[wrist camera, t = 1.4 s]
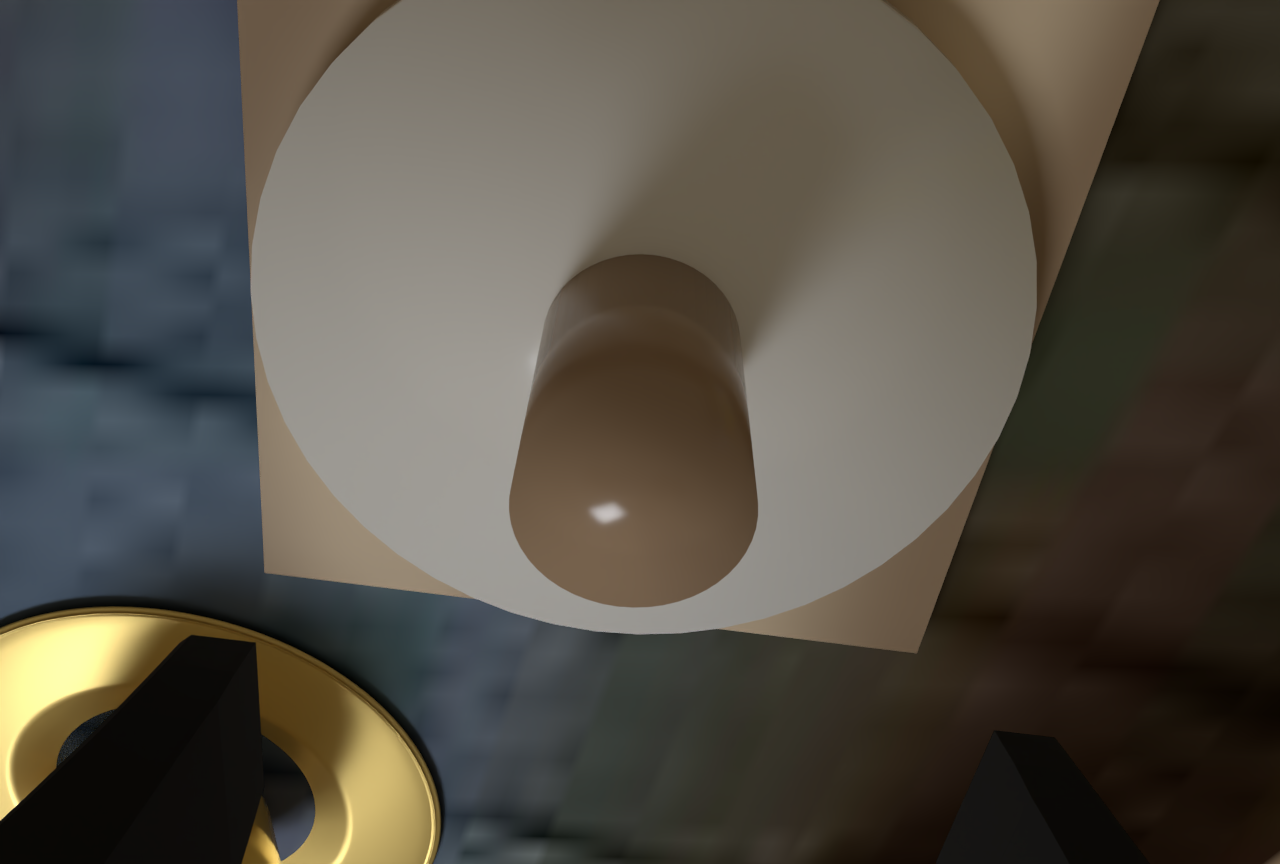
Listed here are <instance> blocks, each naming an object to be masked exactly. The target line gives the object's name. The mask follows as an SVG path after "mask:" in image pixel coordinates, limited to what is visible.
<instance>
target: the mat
mask: <svg viewBox="0 0 1280 864" xmlns="http://www.w3.org/2000/svg"><path fill="white" fill-rule="evenodd" d="M396 1H397V0H237V6H238V27H239V48H240V69H241V89H242V110H243V131H244V152H245V173H246V194H247V215H248V236H249V257H250V278H251V261H252V242H253V237H254V231H255V226H256V220H257V214H258V209H259V203H260V198H261V195H262V192H263V189H264V186H265V183H266V180H267V177H268V174H269V171H270V169H271V166H272V163H273V160H274V157H275V154H276V151H277V149H278V147H279V145H280V143H281V142H282V140H283V138H284V136H285V134H286V132H287V130H288V128H289V126H290V124H291V122H292V121H293V119H294V117H295V115H296V113H297V111H298V109H299V107H300V105H301V104H302V103H303V101H304V100H305V99H306V97H307V96H308V95H309V93H310V92H311V91H312V89H313V88H314V86H315V85H316V84H317V82H318V81H319V80H320V78H321V77H322V76H323V74H324V73H325V72H326V70H327V69H328V67H329V66H330V65H331V63H332V62H333V61H334V60H335V59H336V58H337V57H338V56H339V55H340V54H341V53H342V52H343V50H344V49H345V48H346V47H347V46H348V45H349V44H350V43H351V42H352V41H353V40H354V39H355V38H356V37H357V36H358V35H359V34H360V33H361V32H362V31H363V30H364V29H365V28H366V27H367V26H368V25H369V24H370V23H371V22H372V21H373V20H374V19H375V18H376V17H377V16H378V15H379V14H380V13H381V12H383V11H384V10H385V9H387V8H388V7H389V6H391V5H392V4H393V3H395V2H396ZM886 1H888V2H889V3H890V4H892V5H893V6H894V7H895V8H897V9H898V10H899V11H901V12H902V13H903V14H904V15H906V16H907V17H908V18H910V19H911V20H912V21H913V22H914V23H915V24H916V25H917V26H918V27H919V28H920V29H921V30H922V32H923V33H924V34H925V35H926V36H927V37H928V38H929V39H930V40H931V41H932V42H933V43H934V44H935V45H936V46H937V47H938V48H939V49H940V50H941V51H942V53H943V54H944V55H945V56H946V57H947V58H948V59H949V60H950V61H951V63H952V64H953V65H954V67H955V68H956V69H957V70H958V72H959V73H960V74H961V76H962V77H963V79H964V80H965V82H966V83H967V84H968V86H969V87H970V89H971V90H972V92H973V93H974V94H975V96H976V97H977V99H978V100H979V102H980V103H981V104H982V106H983V107H984V109H985V110H986V112H987V113H988V114H989V116H990V117H991V119H992V121H993V123H994V125H995V127H996V129H997V131H998V133H999V135H1000V137H1001V139H1002V141H1003V143H1004V145H1005V147H1006V149H1007V151H1008V153H1009V155H1010V157H1011V159H1012V161H1013V163H1014V166H1015V169H1016V172H1017V175H1018V179H1019V182H1020V185H1021V188H1022V191H1023V194H1024V198H1025V201H1026V204H1027V207H1028V210H1029V215H1030V221H1031V228H1032V234H1033V241H1034V247H1035V253H1036V260H1037V309H1036V316H1035V323H1034V330H1033V337H1032V342H1033V339H1034V337H1035V334H1036V331H1037V329H1038V326H1039V323H1040V321H1041V318H1042V315H1043V313H1044V310H1045V307H1046V304H1047V302H1048V299H1049V296H1050V294H1051V291H1052V288H1053V286H1054V283H1055V280H1056V278H1057V275H1058V272H1059V270H1060V267H1061V264H1062V261H1063V259H1064V256H1065V253H1066V251H1067V248H1068V245H1069V243H1070V240H1071V237H1072V235H1073V232H1074V229H1075V227H1076V224H1077V221H1078V218H1079V216H1080V213H1081V210H1082V208H1083V205H1084V202H1085V200H1086V197H1087V194H1088V192H1089V189H1090V186H1091V183H1092V181H1093V178H1094V175H1095V173H1096V170H1097V167H1098V165H1099V162H1100V159H1101V157H1102V154H1103V151H1104V149H1105V146H1106V143H1107V140H1108V138H1109V135H1110V132H1111V130H1112V127H1113V124H1114V122H1115V119H1116V116H1117V114H1118V111H1119V108H1120V105H1121V103H1122V100H1123V97H1124V95H1125V92H1126V89H1127V87H1128V84H1129V81H1130V79H1131V76H1132V73H1133V71H1134V68H1135V65H1136V62H1137V60H1138V57H1139V54H1140V52H1141V49H1142V46H1143V44H1144V41H1145V38H1146V36H1147V33H1148V30H1149V28H1150V25H1151V22H1152V19H1153V17H1154V14H1155V11H1156V9H1157V6H1158V3H1159V1H1160V0H886ZM252 320H253V341H254V362H255V382H256V403H257V424H258V445H259V466H260V487H261V508H262V529H263V550H264V571H265V573H270V574H278V575H286V576H294V577H303V578H311V579H319V580H327V581H335V582H343V583H351V584H359V585H367V586H375V587H384V588H392V589H400V590H408V591H416V592H424V593H432V594H440V595H448V596H456V597H465V598H473V597H470V596H468V595H466V594H465V593H463V592H461V591H459V590H457V589H455V588H453V587H451V586H449V585H447V584H445V583H443V582H441V581H439V580H437V579H435V578H433V577H432V576H430V575H429V574H427V573H426V572H424V571H422V570H421V569H419V568H418V567H416V566H415V565H413V564H412V563H410V562H409V561H407V560H406V559H404V558H403V557H401V556H399V555H398V554H397V553H395V552H394V551H393V550H392V549H390V548H389V547H388V546H387V545H386V544H384V543H383V542H382V541H381V540H379V539H378V538H377V537H376V536H375V535H373V534H372V533H371V532H370V531H369V530H367V529H366V528H365V527H364V526H363V525H362V524H361V523H360V522H359V521H358V520H357V519H356V518H355V517H354V516H353V515H352V514H351V513H350V512H349V511H348V510H347V509H346V508H345V507H344V506H343V505H342V504H341V503H340V502H339V501H338V500H337V498H336V497H335V496H334V495H333V494H332V493H331V491H330V490H329V489H328V488H327V486H326V485H325V484H324V482H323V481H322V480H321V478H320V477H319V476H318V474H317V473H316V472H315V470H314V469H313V468H312V467H311V465H310V464H309V463H308V461H307V460H306V458H305V456H304V455H303V453H302V451H301V449H300V448H299V446H298V444H297V443H296V441H295V439H294V437H293V436H292V434H291V432H290V430H289V429H288V427H287V425H286V424H285V422H284V419H283V417H282V414H281V412H280V410H279V407H278V405H277V402H276V400H275V398H274V395H273V393H272V391H271V388H270V386H269V383H268V381H267V377H266V373H265V369H264V366H263V362H262V358H261V354H260V351H259V347H258V343H257V339H256V333H255V324H254V316H253V308H252ZM1031 345H1032V343H1031ZM993 447H994V446H993ZM993 447H992V449H991V451H990V452H989V454H988V455H987V457H986V459H985V460H984V462H983V463H982V465H981V467H980V468H979V470H978V471H977V473H976V475H975V476H974V477H973V478H972V480H971V481H970V482H969V483H968V484H967V486H966V487H965V488H964V489H963V491H962V492H961V493H960V494H959V495H958V497H957V498H956V499H955V500H954V502H953V503H952V504H951V505H950V506H949V508H948V509H947V510H946V511H945V512H944V513H943V514H942V515H941V516H940V517H939V518H937V519H936V520H935V521H934V522H933V523H932V524H931V525H930V526H929V527H928V528H927V529H926V530H925V531H924V532H923V533H922V534H921V535H920V536H919V537H918V538H917V539H915V540H914V541H913V542H911V543H910V544H909V545H907V546H906V547H905V548H903V549H902V550H901V551H899V552H898V553H897V554H895V555H894V556H893V557H892V558H890V559H889V560H888V561H886V562H885V563H884V564H882V565H881V566H879V567H877V568H876V569H874V570H872V571H871V572H869V573H867V574H866V575H864V576H862V577H861V578H859V579H857V580H855V581H854V582H852V583H850V584H849V585H847V586H845V587H843V588H841V589H839V590H837V591H835V592H832V593H830V594H828V595H826V596H824V597H821V598H819V599H817V600H815V601H813V602H811V603H808V604H806V605H803V606H800V607H797V608H794V609H792V610H789V611H786V612H783V613H780V614H777V615H774V616H771V617H768V618H765V619H760V620H756V621H751V622H747V623H743V624H738V625H734V626H729V627H725V628H718V629H724V630H732V631H740V632H748V633H756V634H764V635H772V636H780V637H789V638H797V639H805V640H813V641H821V642H829V643H837V644H845V645H853V646H861V647H870V648H878V649H886V650H894V651H902V652H910V653H917V651H918V649H919V646H920V643H921V641H922V638H923V635H924V633H925V630H926V627H927V625H928V622H929V619H930V616H931V614H932V611H933V608H934V606H935V603H936V600H937V598H938V595H939V592H940V590H941V587H942V584H943V581H944V579H945V576H946V573H947V571H948V568H949V565H950V563H951V560H952V557H953V555H954V552H955V549H956V547H957V544H958V541H959V538H960V536H961V533H962V530H963V528H964V525H965V522H966V520H967V517H968V514H969V512H970V509H971V506H972V503H973V501H974V498H975V495H976V493H977V490H978V487H979V485H980V482H981V479H982V477H983V474H984V471H985V469H986V466H987V463H988V460H989V458H990V455H991V452H992V450H993ZM473 599H475V598H473Z"/></svg>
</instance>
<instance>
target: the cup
mask: <svg viewBox="0 0 1280 864" xmlns="http://www.w3.org/2000/svg"><path fill="white" fill-rule="evenodd" d="M190 635H198V636H206V637H215V638H223V639H231V640H240V641H248V642H256V653H257V670H258V688H259V705H260V723H261V734H262V735H263V736H265V737H266V738H268V739H269V740H271V741H272V742H273V743H275V744H276V745H277V746H278V747H280V748H281V749H282V750H283V751H284V752H285V753H286V754H287V755H288V756H289V757H290V758H291V759H292V760H293V761H294V762H295V763H296V764H297V766H298V767H299V768H300V769H301V771H302V772H303V774H304V775H305V777H306V779H307V781H308V783H309V785H310V787H311V790H312V793H313V796H314V800H315V820H314V825H313V828H312V830H311V833H310V835H309V836H308V838H307V840H306V841H305V842H304V844H303V845H302V846H301V847H300V848H299V849H298V850H297V851H296V852H295V853H293V854H292V855H291V856H289V857H288V858H286V859H285V860H283V861H280V856H279V851H278V847H277V842H276V838H275V834H274V830H273V826H272V821H271V817H270V814H269V810H268V807H267V804H266V802H265V800H264V798H263V796H261V799H260V803H259V806H258V810H257V813H256V817H255V820H254V823H253V827H252V830H251V834H250V837H249V841H248V844H247V847H246V851H245V854H244V857H243V860H242V864H433V862H434V859H435V856H436V853H437V850H438V846H439V841H440V834H441V810H440V803H439V798H438V794H437V790H436V787H435V784H434V781H433V778H432V776H431V773H430V771H429V769H428V767H427V765H426V763H425V761H424V759H423V757H422V755H421V754H420V752H419V750H418V749H417V747H416V746H415V744H414V743H413V741H412V740H411V738H410V737H409V736H408V734H407V733H406V732H405V731H404V729H403V728H402V727H401V726H400V725H399V723H398V722H397V721H396V720H395V719H394V718H393V717H392V716H391V715H390V714H389V713H388V712H387V711H386V710H385V709H384V708H383V707H382V706H381V705H380V704H379V703H378V702H377V701H376V700H375V699H373V698H372V697H371V696H370V695H369V694H368V693H366V692H365V691H364V690H363V689H361V688H360V687H359V686H357V685H356V684H355V683H353V682H352V681H351V680H349V679H348V678H346V677H345V676H343V675H342V674H340V673H339V672H337V671H336V670H334V669H333V668H331V667H329V666H328V665H326V664H325V663H323V662H321V661H319V660H318V659H316V658H314V657H312V656H310V655H308V654H306V653H304V652H303V651H301V650H298V649H296V648H294V647H292V646H290V645H288V644H286V643H283V642H281V641H279V640H276V639H274V638H272V637H269V636H267V635H264V634H261V633H259V632H256V631H253V630H250V629H247V628H244V627H241V626H238V625H235V624H231V623H228V622H224V621H220V620H216V619H212V618H208V617H204V616H199V615H194V614H189V613H184V612H178V611H171V610H163V609H155V608H143V607H121V606H109V607H87V608H76V609H68V610H62V611H56V612H50V613H45V614H41V615H37V616H33V617H29V618H26V619H23V620H19V621H16V622H14V623H11V624H8V625H6V626H3V627H1V628H0V820H1V819H3V818H4V817H5V816H6V815H7V814H8V813H9V812H10V811H11V810H12V809H13V808H15V807H16V806H17V805H18V804H19V803H20V802H21V801H22V800H23V799H24V798H25V797H26V796H27V795H28V794H29V793H30V792H31V791H33V790H34V789H35V788H36V787H37V786H38V785H39V784H40V783H41V782H42V781H43V780H44V779H45V778H46V777H47V776H48V775H49V774H50V773H51V772H53V771H54V770H55V769H56V764H57V758H58V754H59V751H60V749H61V747H62V745H63V743H64V741H65V740H66V738H67V737H68V736H69V735H70V734H71V733H72V732H73V731H74V730H75V729H76V728H77V727H78V726H79V725H81V724H82V723H84V722H85V721H87V720H89V719H90V718H92V717H94V716H96V715H99V714H101V713H104V712H107V711H110V710H113V709H117V708H118V707H119V706H120V705H121V704H122V703H123V702H124V701H125V700H126V699H127V698H128V696H129V695H130V694H131V693H132V692H133V691H134V690H135V689H136V688H137V687H138V686H139V685H140V684H141V683H142V682H143V681H144V680H145V679H146V678H147V677H148V676H149V675H150V674H151V673H152V671H153V670H154V669H155V668H156V667H157V666H158V665H159V664H160V663H161V662H162V661H163V660H164V659H165V658H166V657H167V656H168V655H169V653H170V652H171V651H172V650H173V649H174V648H175V647H176V646H177V645H178V644H179V643H180V642H181V641H183V640H184V639H186V638H187V637H189V636H190Z"/></svg>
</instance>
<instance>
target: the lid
mask: <svg viewBox="0 0 1280 864" xmlns="http://www.w3.org/2000/svg"><path fill="white" fill-rule="evenodd" d="M251 299H252V308H253V316H254V324H255V333H256V339H257V343H258V347H259V351H260V354H261V358H262V362H263V366H264V369H265V373H266V377H267V381H268V383H269V386H270V388H271V391H272V393H273V395H274V398H275V400H276V402H277V405H278V407H279V410H280V412H281V414H282V417H283V419H284V422H285V424H286V425H287V427H288V429H289V430H290V432H291V434H292V436H293V437H294V439H295V441H296V443H297V444H298V446H299V448H300V449H301V451H302V453H303V455H304V456H305V458H306V460H307V461H308V463H309V464H310V465H311V467H312V468H313V469H314V470H315V472H316V473H317V474H318V476H319V477H320V478H321V480H322V481H323V482H324V484H325V485H326V486H327V488H328V489H329V490H330V491H331V493H332V494H333V495H334V496H335V497H336V498H337V500H338V501H339V502H340V503H341V504H342V505H343V506H344V507H345V508H346V509H347V510H348V511H349V512H350V513H351V514H352V515H353V516H354V517H355V518H356V519H357V520H358V521H359V522H360V523H361V524H362V525H363V526H364V527H365V528H366V529H367V530H369V531H370V532H371V533H372V534H373V535H375V536H376V537H377V538H378V539H379V540H381V541H382V542H383V543H384V544H386V545H387V546H388V547H389V548H390V549H392V550H393V551H394V552H395V553H397V554H398V555H399V556H401V557H403V558H404V559H406V560H407V561H409V562H410V563H412V564H413V565H415V566H416V567H418V568H419V569H421V570H422V571H424V572H426V573H427V574H429V575H430V576H432V577H433V578H435V579H437V580H439V581H441V582H443V583H445V584H447V585H449V586H451V587H453V588H455V589H457V590H459V591H461V592H463V593H465V594H466V595H468V596H470V597H473V598H475V599H478V600H480V601H483V602H486V603H488V604H491V605H493V606H496V607H498V608H501V609H504V610H506V611H509V612H511V613H515V614H519V615H522V616H526V617H529V618H533V619H537V620H540V621H544V622H548V623H551V624H556V625H562V626H568V627H574V628H579V629H585V630H591V631H599V632H613V633H627V634H669V633H686V632H694V631H702V630H710V629H718V628H725V627H729V626H734V625H738V624H743V623H747V622H751V621H756V620H760V619H765V618H768V617H771V616H774V615H777V614H780V613H783V612H786V611H789V610H792V609H794V608H797V607H800V606H803V605H806V604H808V603H811V602H813V601H815V600H817V599H819V598H821V597H824V596H826V595H828V594H830V593H832V592H835V591H837V590H839V589H841V588H843V587H845V586H847V585H849V584H850V583H852V582H854V581H855V580H857V579H859V578H861V577H862V576H864V575H866V574H867V573H869V572H871V571H872V570H874V569H876V568H877V567H879V566H881V565H882V564H884V563H885V562H886V561H888V560H889V559H890V558H892V557H893V556H894V555H895V554H897V553H898V552H899V551H901V550H902V549H903V548H905V547H906V546H907V545H909V544H910V543H911V542H913V541H914V540H915V539H917V538H918V537H919V536H920V535H921V534H922V533H923V532H924V531H925V530H926V529H927V528H928V527H929V526H930V525H931V524H932V523H933V522H934V521H935V520H936V519H937V518H939V517H940V516H941V515H942V514H943V513H944V512H945V511H946V510H947V509H948V508H949V506H950V505H951V504H952V503H953V502H954V500H955V499H956V498H957V497H958V495H959V494H960V493H961V492H962V491H963V489H964V488H965V487H966V486H967V484H968V483H969V482H970V481H971V480H972V478H973V477H974V476H975V475H976V473H977V471H978V470H979V468H980V467H981V465H982V463H983V462H984V460H985V459H986V457H987V455H988V454H989V452H990V451H991V449H992V447H993V446H994V444H995V443H996V441H997V439H998V438H999V436H1000V434H1001V431H1002V429H1003V427H1004V425H1005V423H1006V420H1007V418H1008V416H1009V414H1010V412H1011V409H1012V407H1013V405H1014V403H1015V401H1016V398H1017V396H1018V392H1019V389H1020V386H1021V382H1022V379H1023V376H1024V372H1025V369H1026V365H1027V362H1028V359H1029V355H1030V350H1031V343H1032V337H1033V330H1034V323H1035V316H1036V309H1037V260H1036V253H1035V247H1034V241H1033V234H1032V228H1031V221H1030V215H1029V210H1028V207H1027V204H1026V201H1025V198H1024V194H1023V191H1022V188H1021V185H1020V182H1019V179H1018V175H1017V172H1016V169H1015V166H1014V163H1013V161H1012V159H1011V157H1010V155H1009V153H1008V151H1007V149H1006V147H1005V145H1004V143H1003V141H1002V139H1001V137H1000V135H999V133H998V131H997V129H996V127H995V125H994V123H993V121H992V119H991V117H990V116H989V114H988V113H987V112H986V110H985V109H984V107H983V106H982V104H981V103H980V102H979V100H978V99H977V97H976V96H975V94H974V93H973V92H972V90H971V89H970V87H969V86H968V84H967V83H966V82H965V80H964V79H963V77H962V76H961V74H960V73H959V72H958V70H957V69H956V68H955V67H954V65H953V64H952V63H951V61H950V60H949V59H948V58H947V57H946V56H945V55H944V54H943V53H942V51H941V50H940V49H939V48H938V47H937V46H936V45H935V44H934V43H933V42H932V41H931V40H930V39H929V38H928V37H927V36H926V35H925V34H924V33H923V32H922V30H921V29H920V28H919V27H918V26H917V25H916V24H915V23H914V22H913V21H912V20H911V19H910V18H908V17H907V16H906V15H904V14H903V13H902V12H901V11H899V10H898V9H897V8H895V7H894V6H893V5H892V4H890V3H889V2H888V1H886V0H397V1H396V2H395V3H393V4H392V5H391V6H389V7H388V8H387V9H385V10H384V11H383V12H381V13H380V14H379V15H378V16H377V17H376V18H375V19H374V20H373V21H372V22H371V23H370V24H369V25H368V26H367V27H366V28H365V29H364V30H363V31H362V32H361V33H360V34H359V35H358V36H357V37H356V38H355V39H354V40H353V41H352V42H351V43H350V44H349V45H348V46H347V47H346V48H345V49H344V50H343V52H342V53H341V54H340V55H339V56H338V57H337V58H336V59H335V60H334V61H333V62H332V63H331V65H330V66H329V67H328V69H327V70H326V72H325V73H324V74H323V76H322V77H321V78H320V80H319V81H318V82H317V84H316V85H315V86H314V88H313V89H312V91H311V92H310V93H309V95H308V96H307V97H306V99H305V100H304V101H303V103H302V104H301V105H300V107H299V109H298V111H297V113H296V115H295V117H294V119H293V121H292V122H291V124H290V126H289V128H288V130H287V132H286V134H285V136H284V138H283V140H282V142H281V143H280V145H279V147H278V149H277V151H276V154H275V157H274V160H273V163H272V166H271V169H270V171H269V174H268V177H267V180H266V183H265V186H264V189H263V192H262V195H261V198H260V203H259V209H258V214H257V220H256V226H255V231H254V237H253V242H252V261H251Z"/></svg>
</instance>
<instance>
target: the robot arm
mask: <svg viewBox="0 0 1280 864" xmlns="http://www.w3.org/2000/svg"><path fill="white" fill-rule="evenodd" d="M263 789H264V775H263V757H262V740H261V723H260V705H259V688H258V670H257V653H256V642H248V641H240V640H231V639H223V638H215V637H206V636H198V635H190V636H189V637H187V638H186V639H184V640H183V641H181V642H180V643H179V644H178V645H177V646H176V647H175V648H174V649H173V650H172V651H171V652H170V653H169V655H168V656H167V657H166V658H165V659H164V660H163V661H162V662H161V663H160V664H159V665H158V666H157V667H156V668H155V669H154V670H153V671H152V673H151V674H150V675H149V676H148V677H147V678H146V679H145V680H144V681H143V682H142V683H141V684H140V685H139V686H138V687H137V688H136V689H135V690H134V691H133V692H132V693H131V694H130V695H129V696H128V698H127V699H126V700H125V701H124V702H123V703H122V704H121V705H120V706H119V707H118V708H117V709H116V710H115V711H114V712H113V713H112V714H111V715H110V716H109V717H108V718H107V719H106V720H105V721H104V722H103V723H102V724H101V725H100V726H99V727H98V728H97V729H96V730H95V731H94V732H93V733H92V734H91V735H90V736H89V737H88V738H87V739H86V740H85V741H84V742H83V743H82V744H81V745H80V746H79V747H78V748H77V749H76V750H75V751H74V752H73V753H71V754H70V755H69V756H68V757H67V758H66V759H65V760H64V761H63V762H62V763H61V764H60V765H59V766H58V767H57V768H56V769H55V770H54V771H53V772H51V773H50V774H49V775H48V776H47V777H46V778H45V779H44V780H43V781H42V782H41V783H40V784H39V785H38V786H37V787H36V788H35V789H34V790H33V791H31V792H30V793H29V794H28V795H27V796H26V797H25V798H24V799H23V800H22V801H21V802H20V803H19V804H18V805H17V806H16V807H15V808H13V809H12V810H11V811H10V812H9V813H8V814H7V815H6V816H5V817H4V818H3V819H1V820H0V864H242V860H243V857H244V854H245V851H246V847H247V844H248V841H249V837H250V834H251V830H252V827H253V823H254V820H255V817H256V813H257V810H258V806H259V803H260V799H261V796H262V792H263ZM936 864H1150V863H1149V862H1148V861H1147V859H1146V858H1145V857H1144V855H1143V854H1142V853H1141V851H1140V850H1139V849H1138V847H1137V846H1136V845H1135V844H1134V842H1133V841H1132V840H1131V838H1130V837H1129V836H1128V834H1127V833H1126V832H1125V830H1124V829H1123V828H1122V826H1121V825H1120V824H1119V822H1118V821H1117V820H1116V818H1115V817H1114V816H1113V814H1112V813H1111V812H1110V810H1109V809H1108V808H1107V806H1106V805H1105V804H1104V802H1103V801H1102V800H1101V798H1100V797H1099V796H1098V794H1097V793H1096V792H1095V790H1094V789H1093V788H1092V786H1091V785H1090V783H1089V782H1088V781H1087V779H1086V778H1085V777H1084V775H1083V774H1082V773H1081V771H1080V770H1079V769H1078V767H1077V766H1076V765H1075V763H1074V762H1073V761H1072V760H1071V758H1070V757H1069V756H1068V754H1067V753H1066V752H1065V750H1064V749H1063V748H1062V746H1061V745H1060V744H1059V743H1058V741H1057V740H1056V739H1055V738H1054V737H1046V736H1037V735H1029V734H1020V733H1012V732H1004V731H995V730H994V732H993V734H992V737H991V739H990V741H989V743H988V746H987V748H986V750H985V752H984V755H983V757H982V759H981V762H980V764H979V766H978V768H977V771H976V773H975V775H974V777H973V780H972V782H971V784H970V786H969V789H968V791H967V793H966V795H965V798H964V800H963V802H962V804H961V807H960V809H959V811H958V813H957V816H956V818H955V820H954V822H953V825H952V827H951V829H950V832H949V834H948V836H947V838H946V841H945V843H944V845H943V847H942V850H941V852H940V854H939V856H938V859H937V861H936Z"/></svg>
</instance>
